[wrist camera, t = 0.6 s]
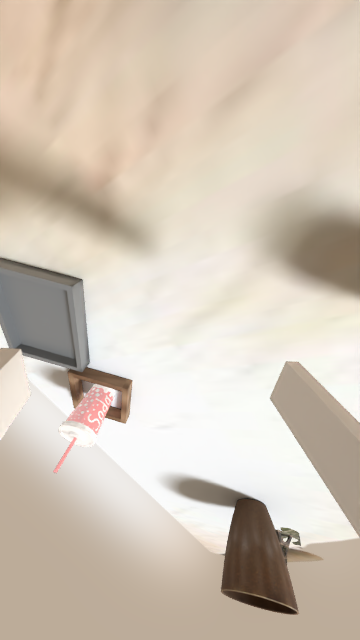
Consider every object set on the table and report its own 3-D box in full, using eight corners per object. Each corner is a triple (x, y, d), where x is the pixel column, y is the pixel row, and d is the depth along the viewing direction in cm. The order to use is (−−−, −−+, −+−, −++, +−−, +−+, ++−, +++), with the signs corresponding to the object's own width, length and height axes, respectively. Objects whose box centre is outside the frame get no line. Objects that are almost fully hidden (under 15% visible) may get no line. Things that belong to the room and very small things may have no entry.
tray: (-7, 256, 29) (-24, 261, 27) (82, 279, 28) (71, 286, 26) (21, 343, 38) (10, 351, 36) (89, 362, 37) (82, 372, 35)
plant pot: (273, 520, 59) (286, 617, 45) (219, 507, 61) (217, 596, 48) (288, 500, 51) (309, 612, 37) (225, 486, 53) (225, 586, 40)
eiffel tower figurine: (301, 543, 66) (316, 615, 55) (266, 538, 69) (274, 605, 58) (297, 525, 59) (313, 603, 48) (259, 520, 62) (266, 592, 51)
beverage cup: (122, 402, 42) (81, 485, 30) (94, 399, 43) (45, 478, 31) (113, 381, 38) (65, 465, 27) (84, 378, 40) (26, 458, 28)
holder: (74, 363, 38) (67, 372, 36) (132, 380, 37) (127, 389, 36) (79, 399, 44) (74, 408, 42) (129, 414, 43) (125, 423, 42)
